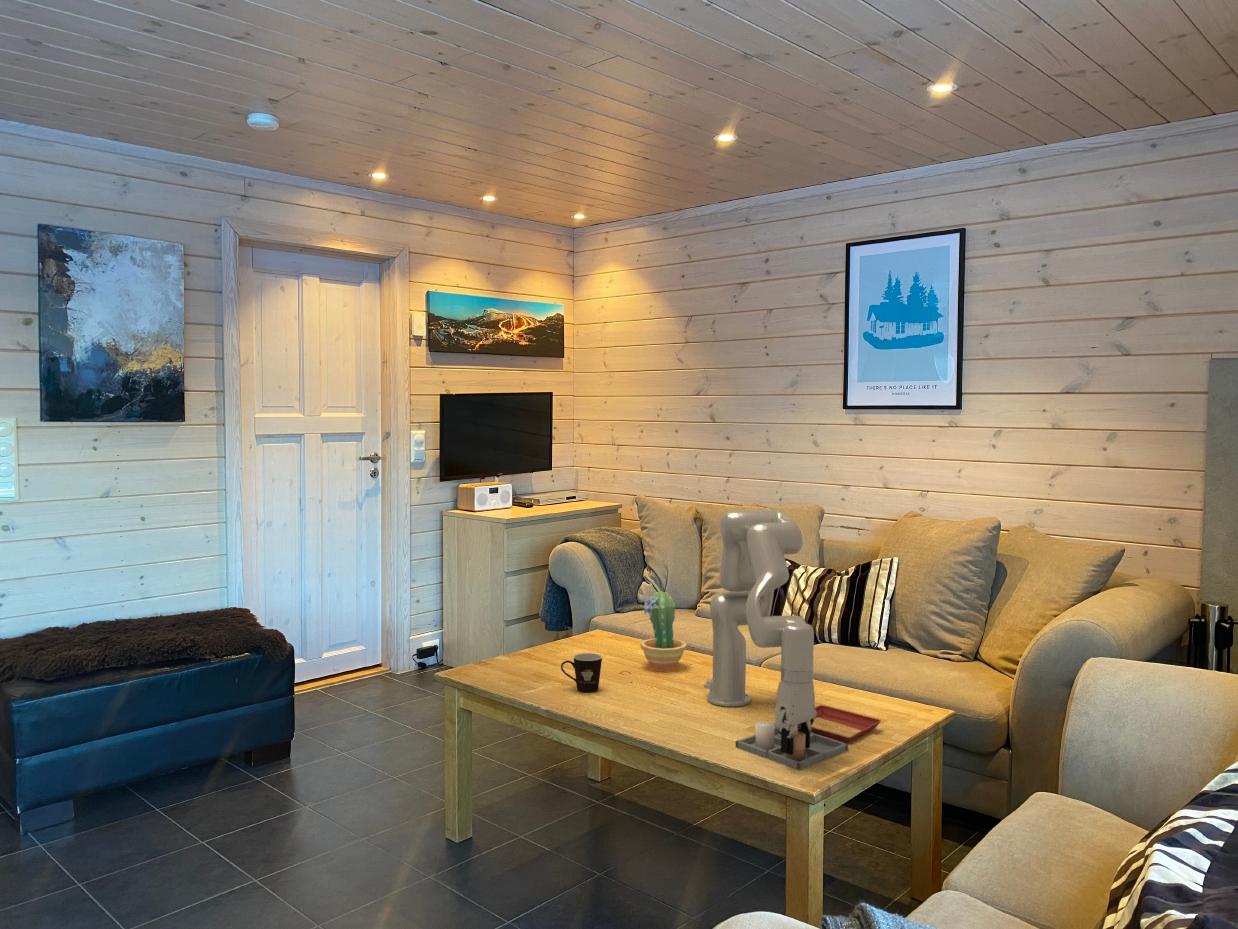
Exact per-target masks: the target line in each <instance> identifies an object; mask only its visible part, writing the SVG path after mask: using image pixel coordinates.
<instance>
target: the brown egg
mask: <svg viewBox="0 0 1238 929" xmlns="http://www.w3.org/2000/svg"><path fill="white" fill-rule="evenodd" d="M805 737H806V735H805V733H803V732H801V731H793V733H792V738H793V754H792V755H790V754H787V753H786V757H787V758H789V759H792V760H795V761H798V762H800V761H802V760H805Z"/></svg>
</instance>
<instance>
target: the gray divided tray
mask: <svg viewBox="0 0 1238 929" xmlns="http://www.w3.org/2000/svg"><path fill="white" fill-rule="evenodd" d="M798 729H799V728H797V731H798ZM735 748H737V749H739V750H743V751H745V752H748V753H750V754H753V755H756V756H759V757H761V758H764V759H768V760H770V761H772V762H775V763H778V764H781V765H784V766H787V767H789V768H792V769H795V770H797V771H801V770H804V769H807V768H809V767H811V766H813V765H816V764H818V763H820V762H823V761H826V760H828V759H830V758H833V757H836V756H837V755H840V754H842V753H845V752H847V751H849V743H846V742H842V741H838V740H834V739H831V738H827V737H824V736H821V735H818V734H815V733H811V732H810V747H809V748H805V760H802V761H800V762H798V761H795V760H792V759H789V758H787V757H786V753H784V752H782V751H781V738H779V732H778V730H777V729H776V728H775V727H774V748H773V749H771V750H768V751H767V750H764V749H761V748H758V747H755V733H754V734H752V735H748V736H747V737H744V738H740V739H738V740H735Z"/></svg>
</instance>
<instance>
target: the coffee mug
mask: <svg viewBox="0 0 1238 929" xmlns="http://www.w3.org/2000/svg"><path fill="white" fill-rule="evenodd" d="M602 660H603V656H602V655H601V654H599V653H592V652H590V653H588V652H586V653H585V652H584V653H577V654H574V655H573V661H571V660H565V661H563V662H562V663H561V665H560V669H561V672H563V673H564V675H565V676H567V677H568V678H569V679H571V680H573V681H574V682H575V684H576V690H577V692H579V693H581V694H582V693H583V694H592V693H597V692H598V691H599V688H600V687H599V685H600V678H601V668H602ZM565 664H570V665H571V666H572V667H573V669H574V676H575V677H574V676H572V675H570V674H569V673H567V672H566V671H565V670H564V668H563V667H564V665H565Z"/></svg>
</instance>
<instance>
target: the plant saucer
mask: <svg viewBox="0 0 1238 929" xmlns="http://www.w3.org/2000/svg"><path fill="white" fill-rule="evenodd" d="M815 710H816V711H817V715H816V717H815V718H814V720H815V719H817V718H820V719H821V720H822V719H823V720H824V721H825V720H826V721H829V722H832V723H835V724H839V725H842V726H846V727H847V728H848V727H849V728H852V729H856V730H859V731H857V733H854V734H852V735H851V736H846V735H844V734H839V733H835V732H832V731H828V730H825V729H822V728H818V727H814V726H812V730H811V731H809V732H811V733H815V734H818V735H821V736H824V737H827V738H830V739H833V740H837V741H840V742H843V743H846V744H849V743H851V742H853V741H854V740H856V739H858V738H859V737H862V736H863V735H865V734H867V733H868V732H869V733H871V732H872V731H874V730H875V729H876V728H877V727H878V726H879V724H880V723H881V722H882V720H881V719H878V718H874V717H871V716H867V715H864V714H858V713H855V712H850V711H846V710H842V709H840V708H835V707H831V706H827V705H822V704H820V705H817V706H815ZM797 728H800V726H799V724H798V726H797ZM800 729H801V728H800ZM870 731H871V732H870Z"/></svg>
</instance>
